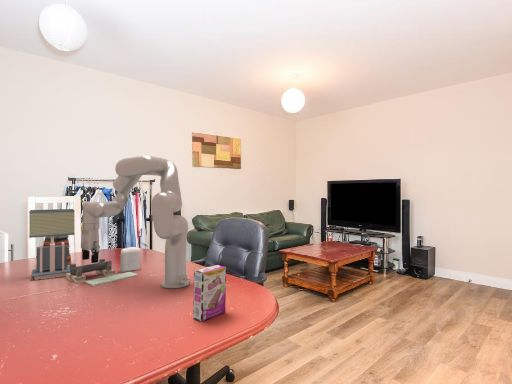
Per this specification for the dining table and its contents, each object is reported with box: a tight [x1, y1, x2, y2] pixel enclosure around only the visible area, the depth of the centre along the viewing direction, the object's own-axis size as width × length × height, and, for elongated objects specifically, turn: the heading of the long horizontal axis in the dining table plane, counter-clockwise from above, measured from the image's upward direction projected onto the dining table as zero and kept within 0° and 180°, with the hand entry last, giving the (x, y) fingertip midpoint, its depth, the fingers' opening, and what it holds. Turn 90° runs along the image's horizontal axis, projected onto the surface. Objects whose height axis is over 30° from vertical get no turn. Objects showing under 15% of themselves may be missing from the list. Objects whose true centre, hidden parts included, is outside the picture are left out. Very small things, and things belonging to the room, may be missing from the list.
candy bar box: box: [192, 264, 227, 323], centre depth 107 cm, size 11×5×16 cm, turn 141°
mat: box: [84, 271, 139, 287], centre depth 150 cm, size 8×22×1 cm, turn 141°
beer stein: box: [42, 235, 72, 266], centre depth 179 cm, size 19×15×20 cm
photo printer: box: [119, 246, 141, 273], centre depth 166 cm, size 10×4×12 cm, turn 134°
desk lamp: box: [28, 208, 75, 281], centre depth 156 cm, size 18×14×33 cm
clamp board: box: [65, 258, 116, 284], centre depth 153 cm, size 12×18×7 cm, turn 141°
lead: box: [69, 261, 106, 275], centre depth 154 cm, size 17×4×4 cm, turn 141°
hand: (90, 261), depth 153 cm, fingers open, 9 cm apart
